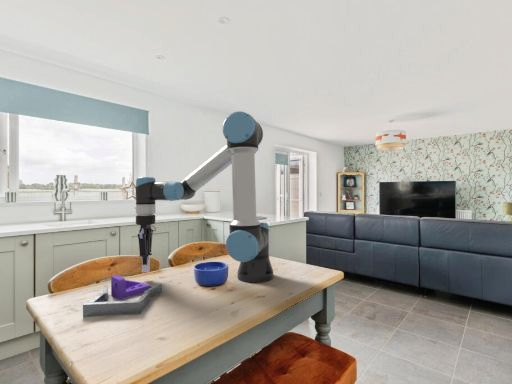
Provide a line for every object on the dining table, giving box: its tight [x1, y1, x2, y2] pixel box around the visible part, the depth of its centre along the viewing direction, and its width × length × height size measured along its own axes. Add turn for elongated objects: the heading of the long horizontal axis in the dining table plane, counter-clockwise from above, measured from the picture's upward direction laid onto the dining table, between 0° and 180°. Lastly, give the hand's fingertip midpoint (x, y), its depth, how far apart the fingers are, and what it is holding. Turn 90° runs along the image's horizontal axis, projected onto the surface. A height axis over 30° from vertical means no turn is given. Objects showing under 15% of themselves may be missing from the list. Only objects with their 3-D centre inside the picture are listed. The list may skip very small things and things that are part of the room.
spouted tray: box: [82, 282, 163, 318], centre depth 91 cm, size 20×19×4 cm
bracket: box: [110, 274, 153, 301], centre depth 100 cm, size 12×7×7 cm, turn 139°
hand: (145, 271), depth 115 cm, fingers closed
